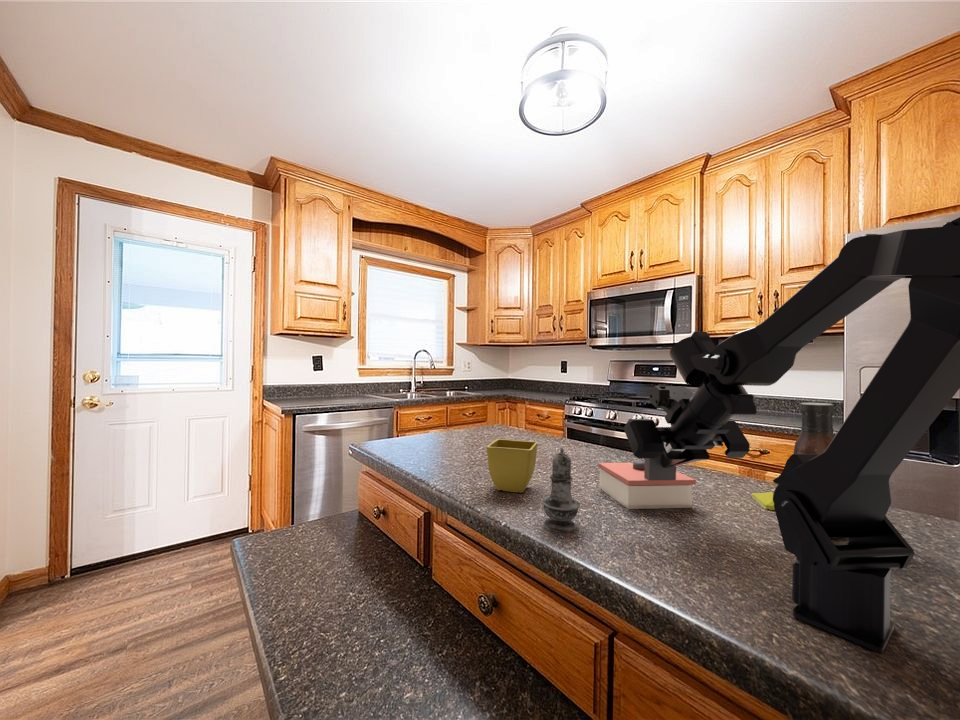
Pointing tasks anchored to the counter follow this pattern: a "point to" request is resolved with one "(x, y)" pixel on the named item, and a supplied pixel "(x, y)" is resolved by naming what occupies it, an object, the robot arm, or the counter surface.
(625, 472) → the lid
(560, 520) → the salt shaker
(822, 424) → the sauce bottle
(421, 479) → the counter surface
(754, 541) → the counter surface
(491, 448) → the flower pot
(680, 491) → the white rectangular box
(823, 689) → the counter surface
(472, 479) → the counter surface
